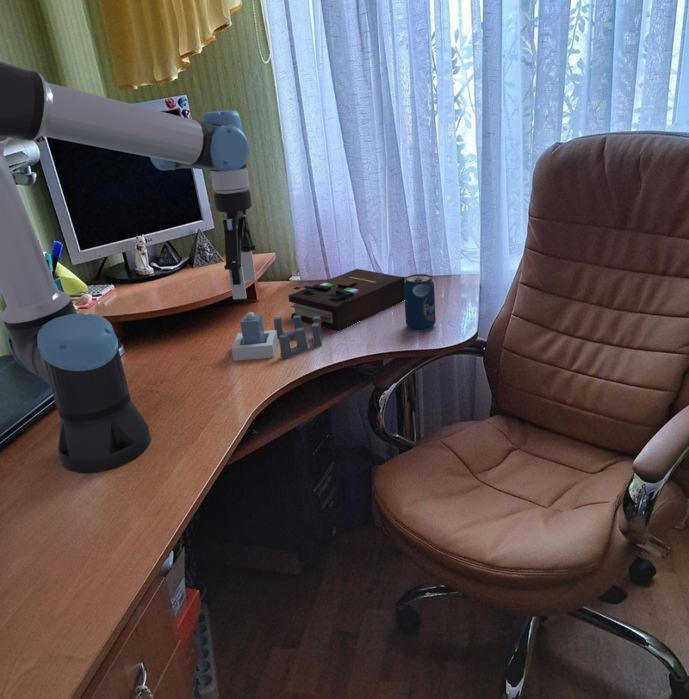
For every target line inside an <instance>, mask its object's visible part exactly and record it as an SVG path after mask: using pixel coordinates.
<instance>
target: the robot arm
mask: <svg viewBox="0 0 689 699" xmlns="http://www.w3.org/2000/svg"><path fill="white" fill-rule="evenodd" d="M201 119H202V120H201V121H198V120H195V119H192V118H187V117H184V116H179V115H175V114H173V113H168V112H163V111H160V110H157V109H154V108H153V109H152V108H148V107H144V106H141V105H137V104H132V103H129V102H125V101H122V100H117V99H113V98H109V97H105V96H101V95H98V94H93V93H91V92H90V93H89V92H86V91H82V90H78V89H73V88H69V87H67V86H61V85H58V84H54V83H49V82H47V81H46V80H45V78H44V77H43V76H42V74H41V73H39V72H38V71H34V70H29V69H25V68H21V67H19V66H15V65H13V64H10V63H7V62H3V61H0V294H1V296H2V298H3V300H4V302H5V304H6V306H5V309H4V310H3V313H2V315H1V319H2V322H3V324H4V327H5V328H6V331H7V336H6V337H7V344H8V347H9V348H8V349H9V350H10V352H11V355H12V356H13V358H14V359H15V360H16V362H17V363H18V364H19V365H20V366H21V367H23V368H24V369H26V370H27V371H29V372H30V373H32V374H34V375H36V376H37V377H39V378H40V379H41V380H43V381H45V382H46V383H47V384H48V385H49V386H50V388H51V392H52V395H53V398H54V402H55V406H56V409H57V412H58V415H59V421H60V422H59V435H58V444H57V445H58V447H57V449H58V451H57V452H58V455H59V459H60V461H61V462H60V463H61V465H62V466H63V467H64V468H66V469H67V470H69V471H72V472H77V473H96V472H101V471H103V472H104V471H107V470H110V469H114V468H118V467H120V466H122V465H124V464H126V463H128V462H131V461H133V460H134V459H135V458H138V457H140V456H141V454H142V453H144V452H145V451H146V449H148V447H149V446H150V444H151V441H152V437H151V433H150V429H149V425H148V424H147V421H145V419H144V417H143V416H142V415H141V413H140V411H139V410H138V409H137V407H136V406H135V404H134V403H133V402H132V399H131V396H130V395H131V394H130V391H129V387H128V383H127V378H126V374H125V369H124V365H123V361H122V357H121V352H120V349H119V340H118V337H117V335H116V334H115V331H114V328H113V326H112V324H111V322H110V321H109V320H107V319H106V318H105V317H103V316H101V315H99V314H94V313H87V314H85V313H81V312H80V313H79V312H78V313H77V310H76V308H75V305H74V302H73V300H72V297H71V295H70V294H69V293H67V292H64V291H62V290H59V289H58V287H57V284H56V282H55V279H54V277H53V275H52V272H51V269H50V267H49V264H48V262H47V260H46V257H45V255H44V252H43V249H42V247H41V244H40V241H39V240H38V237H37V234H36V232H35V229H34V227H33V225H32V224H33V223H32V222H31V219H30V216H29V214H28V212H27V210H26V206H25V204H24V202H23V200H22V197H21V194H20V191H19V189H18V187H17V185H16V182H15V179H14V176H13V174H12V172H11V169H10V167H9V164H8V162H7V160H6V156H5V153H4V150H5V148H6V147H7V145H8V143H9V138H12V139H19V140H25V141H30V142H34V141H36V140H37V139H38V138H40V137H46V138H52V139H56V140H61V141H65V142H66V141H67V142H71V143H76V144H82V145H87V146H92V147H96V148H97V147H98V148H103V149H108V150H113V151H118V152H123V153H128V154H133V155H139V156H143V157H148V158H150V161H151V163H152V164H153V166H154V167H155V168H156V169H157V170H160V171H170V170H171V171H175V170H178V169H196V170H209V171H210V174H209V175H208V177H207V178H208V179H209V180H210V181H211V184H212V185H211V186H212V190H213V191H214V194H213V199H214V208H215V210H216V211H217V212H219V213H225V214H226V219H223V221H222V224H223V232H224V233H223V234H224V252H225V253H224V254H225V265H224V271H228V273H229V278H230V279H229V280H230V285H231V286H230V287H231V292H232V299H233V300H242V299H243V300H245V299H247V291H246V281H247V282H249V281H256V279H257V278H256V271H255V264H254V262H255V261H254V255H253V251H256V245H254V242H253V239H252V234H251V230H250V225H249V221H248V216H247V210H249V209H250V208H251V207H252V206H253V203H252V196H251V191H250V190H249V189H248V188H249V187H250V178H249V172H248V166H247V161H248V159H249V154H250V144H249V141H248V139H247V136H246V135H245V133H244V131H243V124H242V120H241V116H240V114H239V112H238V111H237V110H232V109H231V110H230V109H228V110H216V111H209V112H203V113H202V116H201Z"/></svg>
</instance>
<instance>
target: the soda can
mask: <svg viewBox="0 0 689 699" xmlns="http://www.w3.org/2000/svg"><path fill="white" fill-rule="evenodd" d="M435 295H436V294H435V283H434V281H433V280H432V276H431V275H429V274H424V273H419V274H418V273H417V274H410V275H408V276H407V277H406V278H405V284H404V299H405V301H404V313H405V314H404V315H405V324H406V325H407V327H408V329H410V331H413V332H427V331H430V330H431V329H433V327H434V326H435V324H436V320H437V319H436V298H435Z"/></svg>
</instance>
